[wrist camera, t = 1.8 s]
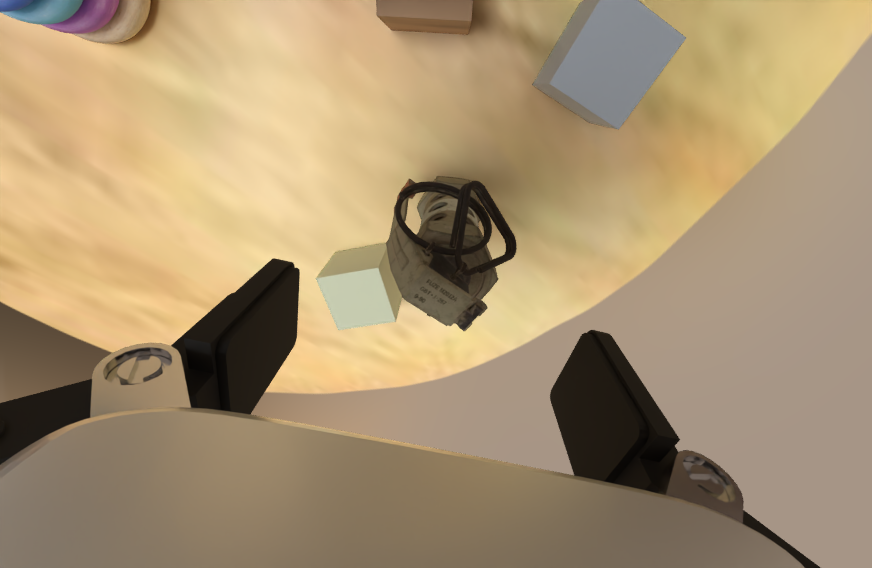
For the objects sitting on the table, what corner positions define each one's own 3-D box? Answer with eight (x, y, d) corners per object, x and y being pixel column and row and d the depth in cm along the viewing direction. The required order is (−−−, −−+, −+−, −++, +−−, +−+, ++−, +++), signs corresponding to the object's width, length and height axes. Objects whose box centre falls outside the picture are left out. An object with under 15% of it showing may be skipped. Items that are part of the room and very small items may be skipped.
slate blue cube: (579, 3, 21) (611, -20, 17) (640, 48, 22) (686, 37, 18) (531, 84, 24) (549, 83, 19) (589, 122, 25) (618, 129, 20)
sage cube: (335, 251, 31) (315, 278, 26) (389, 241, 30) (378, 267, 25) (353, 298, 33) (338, 330, 29) (403, 290, 32) (395, 321, 28)
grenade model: (507, 177, 27) (558, 260, 14) (452, 243, 29) (451, 364, 16) (440, 123, 25) (426, 159, 12) (390, 199, 28) (333, 295, 15)
